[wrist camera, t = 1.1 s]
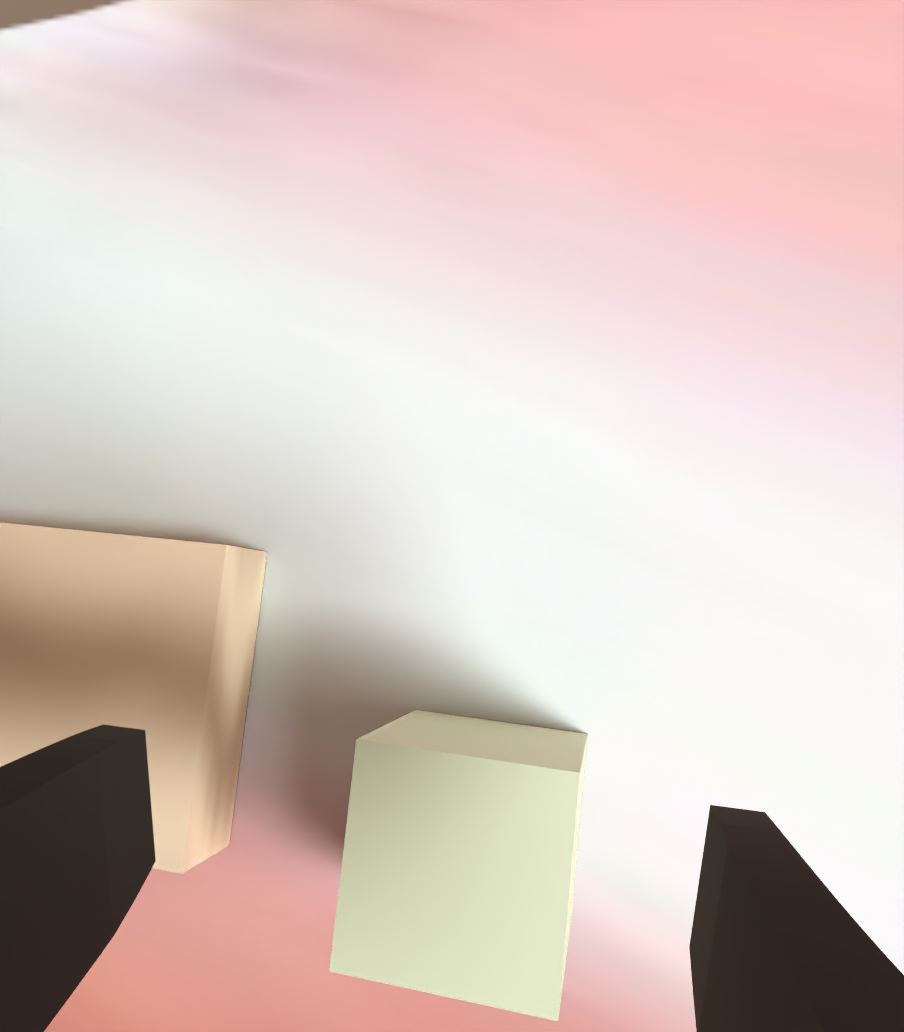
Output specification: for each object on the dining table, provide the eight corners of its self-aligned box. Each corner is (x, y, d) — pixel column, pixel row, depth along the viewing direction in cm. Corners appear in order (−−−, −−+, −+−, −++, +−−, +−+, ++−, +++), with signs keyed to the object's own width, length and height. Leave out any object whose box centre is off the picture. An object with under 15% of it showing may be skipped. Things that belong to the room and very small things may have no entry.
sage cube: (571, 918, 19) (557, 1020, 14) (396, 885, 20) (329, 971, 15) (587, 733, 20) (580, 773, 15) (416, 709, 21) (356, 739, 16)
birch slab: (228, 845, 21) (181, 874, 19) (-21, 798, 23) (-93, 819, 21) (267, 551, 22) (226, 545, 20) (23, 527, 24) (-42, 518, 21)
